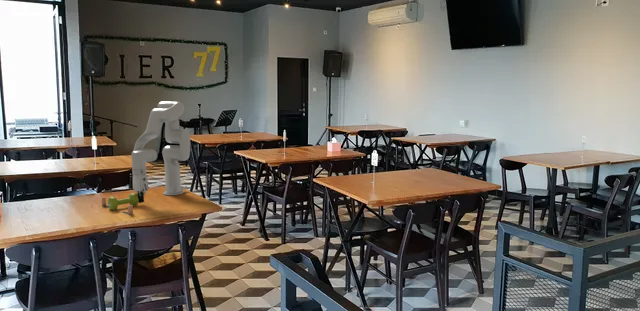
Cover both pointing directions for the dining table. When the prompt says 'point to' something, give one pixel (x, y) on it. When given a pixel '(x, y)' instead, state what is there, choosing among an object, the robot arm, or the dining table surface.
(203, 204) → the dining table surface
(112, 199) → the dumbbell
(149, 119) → the robot arm
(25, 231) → the dining table surface
